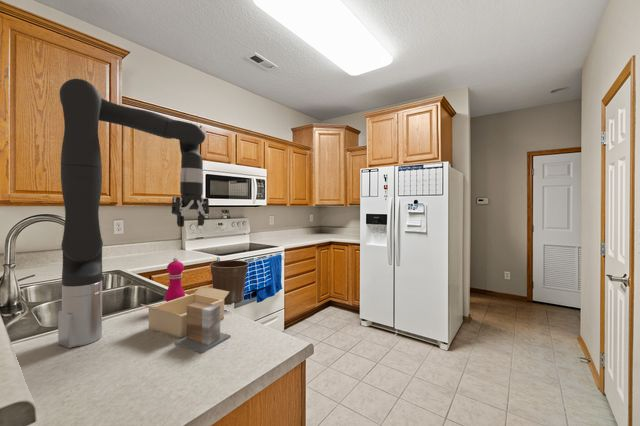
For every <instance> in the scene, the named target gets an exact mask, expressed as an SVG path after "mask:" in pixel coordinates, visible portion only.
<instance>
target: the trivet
mask: <svg viewBox="0 0 640 426" xmlns="http://www.w3.org/2000/svg"><path fill="white" fill-rule="evenodd" d="M230 338H231V334H227V333H223V332H221V331H220V339H219V340H217V341H215V342H213V343H211V344H210V345H206V344H203V343H200V342H197V341H193V340H190V339H187V338H186V336H185V337H183V338H181V339H178V340H176V341H175V342H174V345H177V346H180V347H182V348H185V349H189V350H193V351H195V352H198V353H201V354H203V353H205V352H207V351H209V350H210V349H212V348H214V347H215V346H218V345H220V344H221V343H223V342H225V341H226V340H228V339H230Z"/></svg>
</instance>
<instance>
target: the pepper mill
mask: <svg viewBox="0 0 640 426" xmlns="http://www.w3.org/2000/svg"><path fill="white" fill-rule="evenodd" d="M184 269H185V266H184V263H183V262H181V261H179V259H178V257H173V258H172V261H171V262H169V263H168V264H167V266H166V271H167V272H168V277H167V278H168V279H169V282H168V288H167V289H166V291H165V295H164V300H165V302H168V301H171V300H174V299H178V298H181V297H184V296H186V293H185V290H184V288H183V285H182V278H183V272H184Z"/></svg>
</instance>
